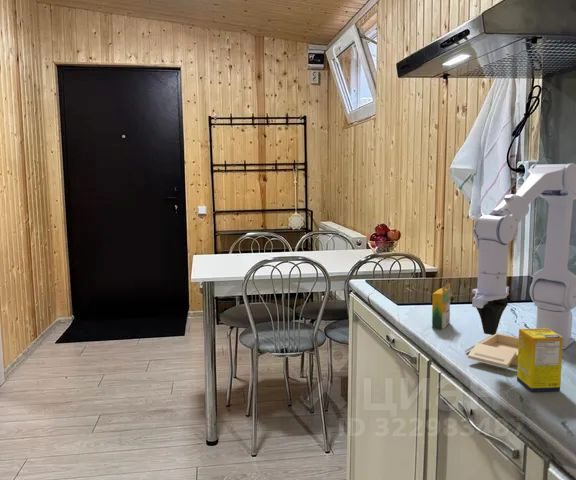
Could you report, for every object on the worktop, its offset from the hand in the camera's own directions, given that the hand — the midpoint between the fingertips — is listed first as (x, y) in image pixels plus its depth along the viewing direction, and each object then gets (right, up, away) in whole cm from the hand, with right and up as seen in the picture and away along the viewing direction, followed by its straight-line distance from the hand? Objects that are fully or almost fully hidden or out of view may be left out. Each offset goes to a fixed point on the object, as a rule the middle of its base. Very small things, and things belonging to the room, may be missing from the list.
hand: (489, 333), depth 109 cm
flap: (+1, -5, +2) cm, 5 cm away
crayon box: (-1, -4, +31) cm, 32 cm away
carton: (+8, -6, +10) cm, 14 cm away
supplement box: (+6, -9, -9) cm, 14 cm away
